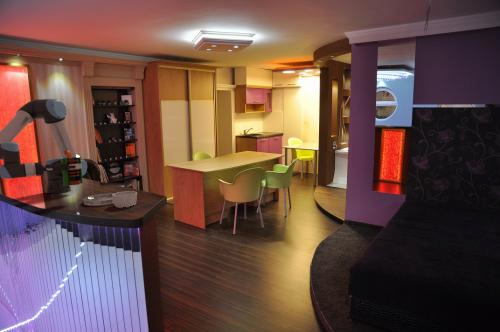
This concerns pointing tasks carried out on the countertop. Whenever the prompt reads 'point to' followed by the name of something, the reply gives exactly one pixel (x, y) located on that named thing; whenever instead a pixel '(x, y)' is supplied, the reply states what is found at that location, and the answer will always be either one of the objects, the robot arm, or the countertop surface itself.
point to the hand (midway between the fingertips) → (80, 165)
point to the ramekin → (124, 199)
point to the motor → (71, 170)
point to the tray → (98, 200)
